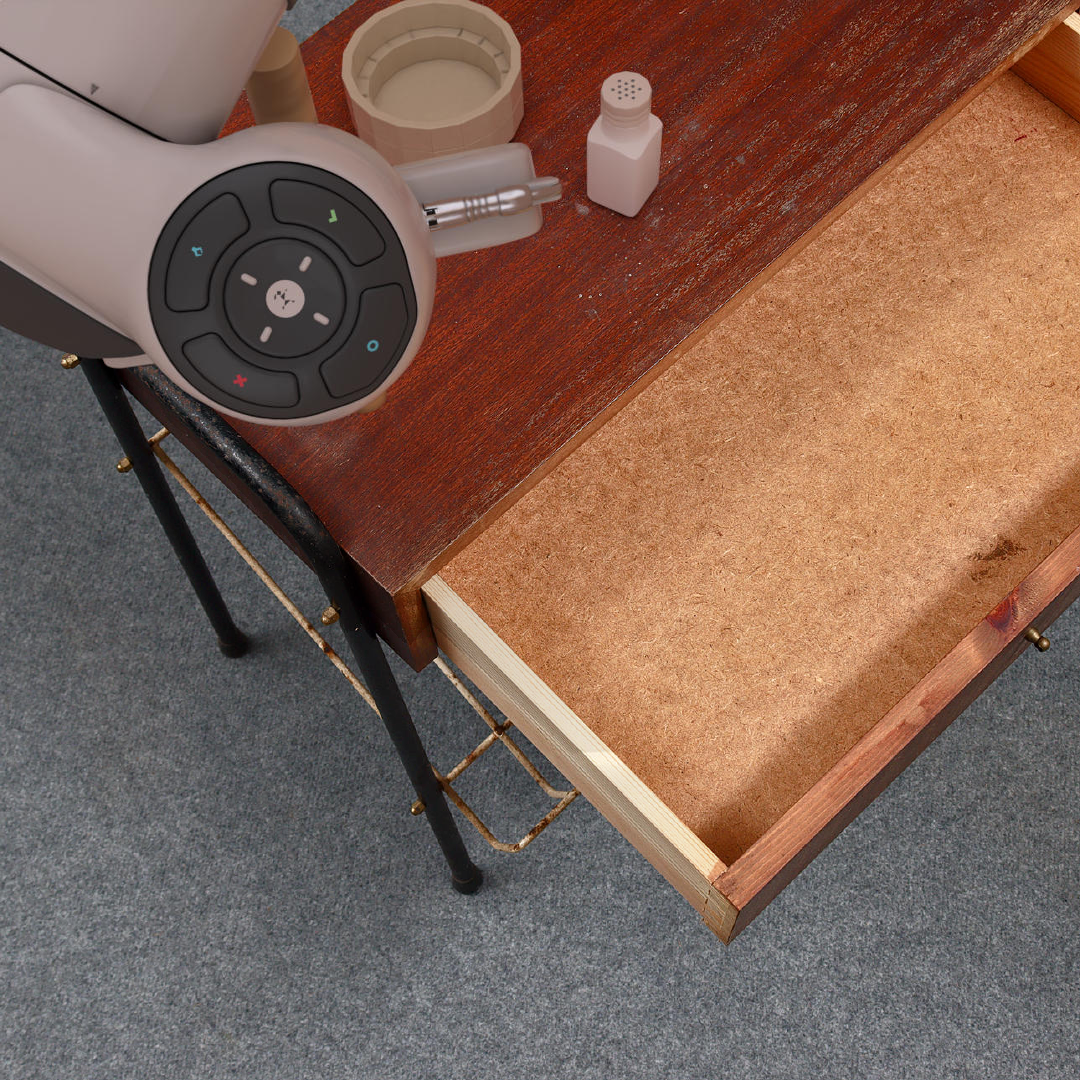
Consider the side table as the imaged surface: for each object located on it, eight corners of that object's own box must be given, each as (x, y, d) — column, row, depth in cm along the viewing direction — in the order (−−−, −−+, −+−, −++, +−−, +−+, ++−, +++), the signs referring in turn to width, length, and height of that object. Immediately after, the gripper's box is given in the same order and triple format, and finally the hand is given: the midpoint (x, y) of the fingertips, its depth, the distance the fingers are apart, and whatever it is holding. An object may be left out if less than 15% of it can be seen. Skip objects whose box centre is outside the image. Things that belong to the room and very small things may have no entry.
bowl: (349, 183, 89) (337, 132, 85) (358, 53, 95) (346, -2, 90) (525, 177, 89) (521, 125, 85) (523, 46, 95) (519, -9, 90)
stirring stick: (342, 414, 74) (230, 72, 50) (344, 376, 75) (236, 25, 52) (386, 413, 74) (295, 70, 50) (388, 375, 75) (300, 23, 51)
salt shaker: (611, 162, 89) (614, 57, 81) (661, 183, 88) (669, 79, 80) (583, 201, 88) (583, 99, 79) (634, 223, 87) (639, 122, 78)
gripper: (556, 104, 48) (512, 107, 61) (12, 212, 46) (86, 192, 59) (584, 270, 50) (536, 239, 63) (65, 379, 48) (126, 324, 61)
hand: (314, 217), depth 61 cm, fingers closed on stirring stick, 2 cm apart
